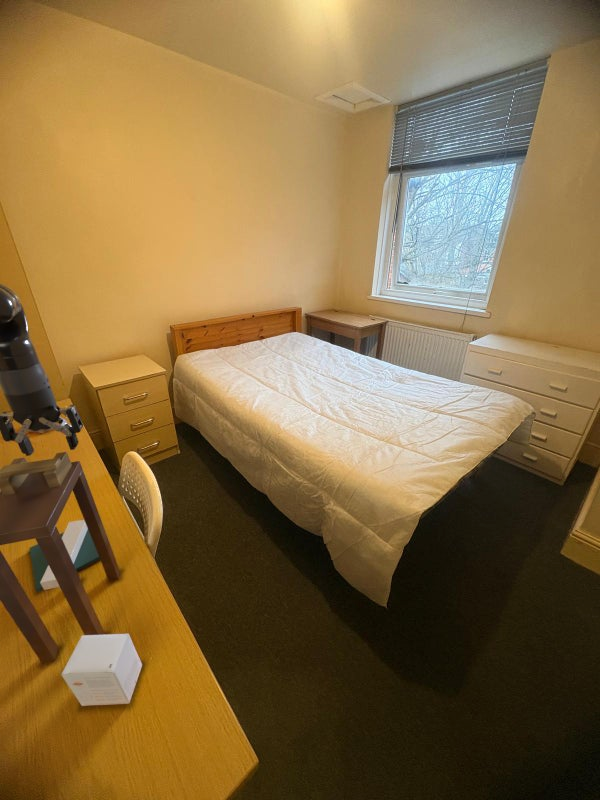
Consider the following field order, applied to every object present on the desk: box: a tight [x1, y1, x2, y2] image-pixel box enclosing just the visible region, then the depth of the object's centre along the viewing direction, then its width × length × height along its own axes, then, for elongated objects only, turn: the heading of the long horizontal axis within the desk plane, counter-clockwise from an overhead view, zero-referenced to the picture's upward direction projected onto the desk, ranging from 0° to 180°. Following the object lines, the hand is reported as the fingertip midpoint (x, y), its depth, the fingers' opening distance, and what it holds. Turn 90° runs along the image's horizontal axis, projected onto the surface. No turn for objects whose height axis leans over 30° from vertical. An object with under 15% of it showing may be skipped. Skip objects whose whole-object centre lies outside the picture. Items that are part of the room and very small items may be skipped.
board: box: [29, 530, 101, 593], centre depth 78 cm, size 14×14×1 cm
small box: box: [60, 633, 143, 707], centre depth 53 cm, size 8×6×10 cm
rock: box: [28, 428, 53, 434], centre depth 130 cm, size 13×10×4 cm
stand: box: [0, 451, 121, 665], centre depth 58 cm, size 10×16×36 cm, turn 17°
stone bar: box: [40, 519, 88, 591], centre depth 76 cm, size 4×17×2 cm, turn 15°
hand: (52, 450), depth 73 cm, fingers open, 8 cm apart
